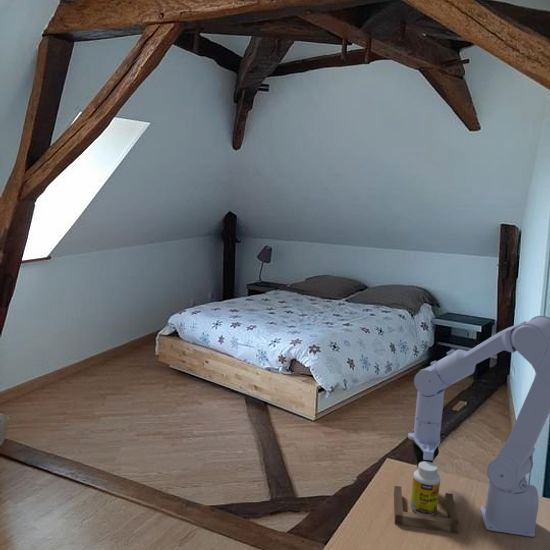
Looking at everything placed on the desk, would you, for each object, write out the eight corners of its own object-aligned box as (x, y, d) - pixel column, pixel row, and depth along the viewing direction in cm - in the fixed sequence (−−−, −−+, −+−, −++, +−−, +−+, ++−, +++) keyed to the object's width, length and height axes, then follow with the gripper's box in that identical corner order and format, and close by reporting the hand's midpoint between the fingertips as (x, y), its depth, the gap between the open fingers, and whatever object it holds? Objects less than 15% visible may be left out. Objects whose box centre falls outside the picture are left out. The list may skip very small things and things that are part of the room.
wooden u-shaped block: (451, 502, 126) (452, 493, 125) (458, 533, 115) (459, 524, 115) (393, 493, 128) (394, 485, 127) (394, 523, 117) (395, 514, 117)
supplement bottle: (415, 517, 120) (419, 473, 118) (406, 502, 125) (410, 459, 123) (440, 517, 120) (445, 472, 118) (430, 501, 126) (435, 458, 124)
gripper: (408, 403, 136) (403, 456, 139) (411, 430, 122) (406, 488, 125) (439, 406, 135) (433, 459, 137) (445, 434, 121) (439, 493, 123)
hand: (422, 473), depth 131 cm, fingers closed
